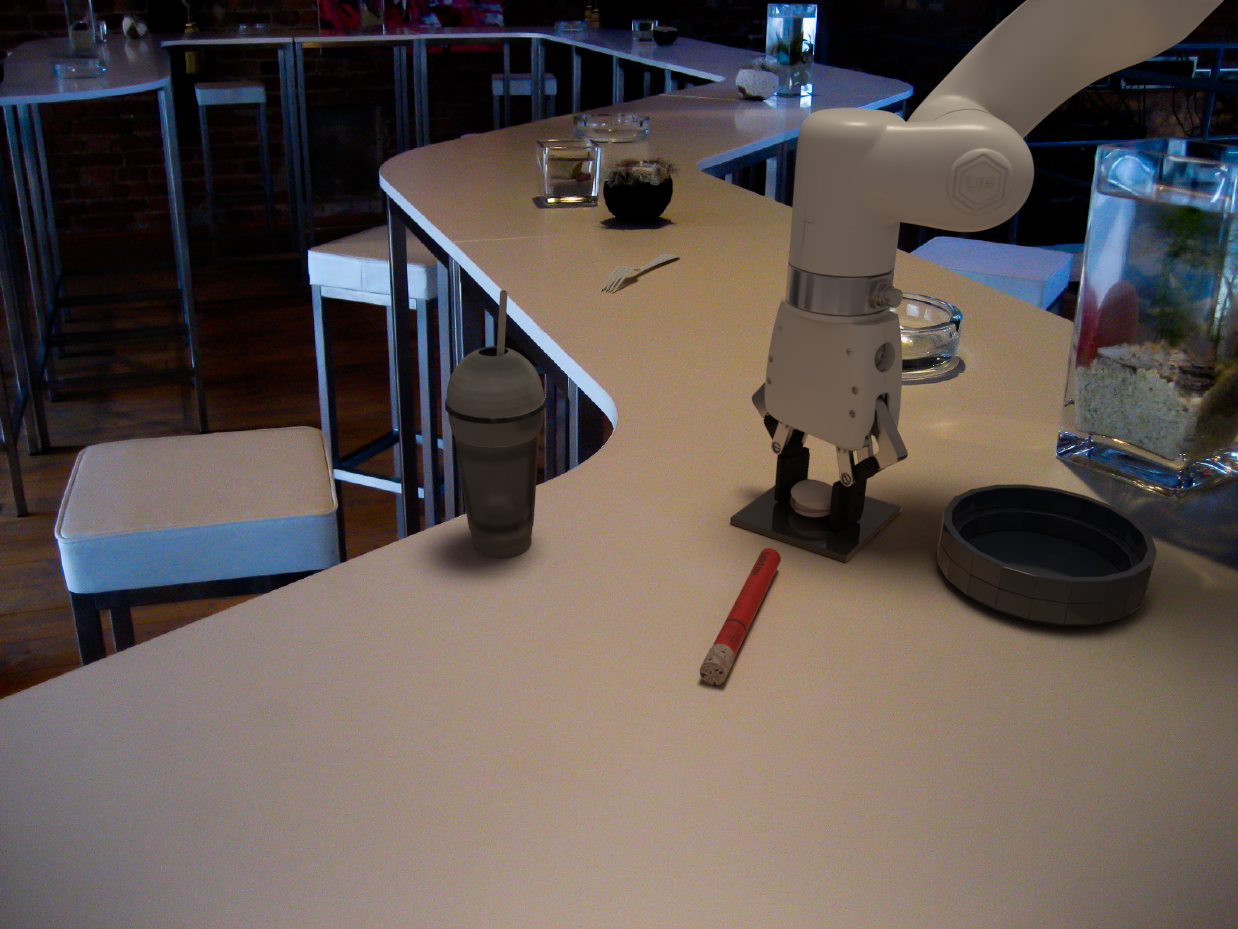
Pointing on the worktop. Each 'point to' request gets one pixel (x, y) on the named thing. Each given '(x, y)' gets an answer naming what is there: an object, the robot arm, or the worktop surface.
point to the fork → (656, 261)
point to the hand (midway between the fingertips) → (817, 508)
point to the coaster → (814, 525)
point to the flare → (739, 618)
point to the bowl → (1045, 554)
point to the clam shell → (811, 498)
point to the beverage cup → (497, 442)
